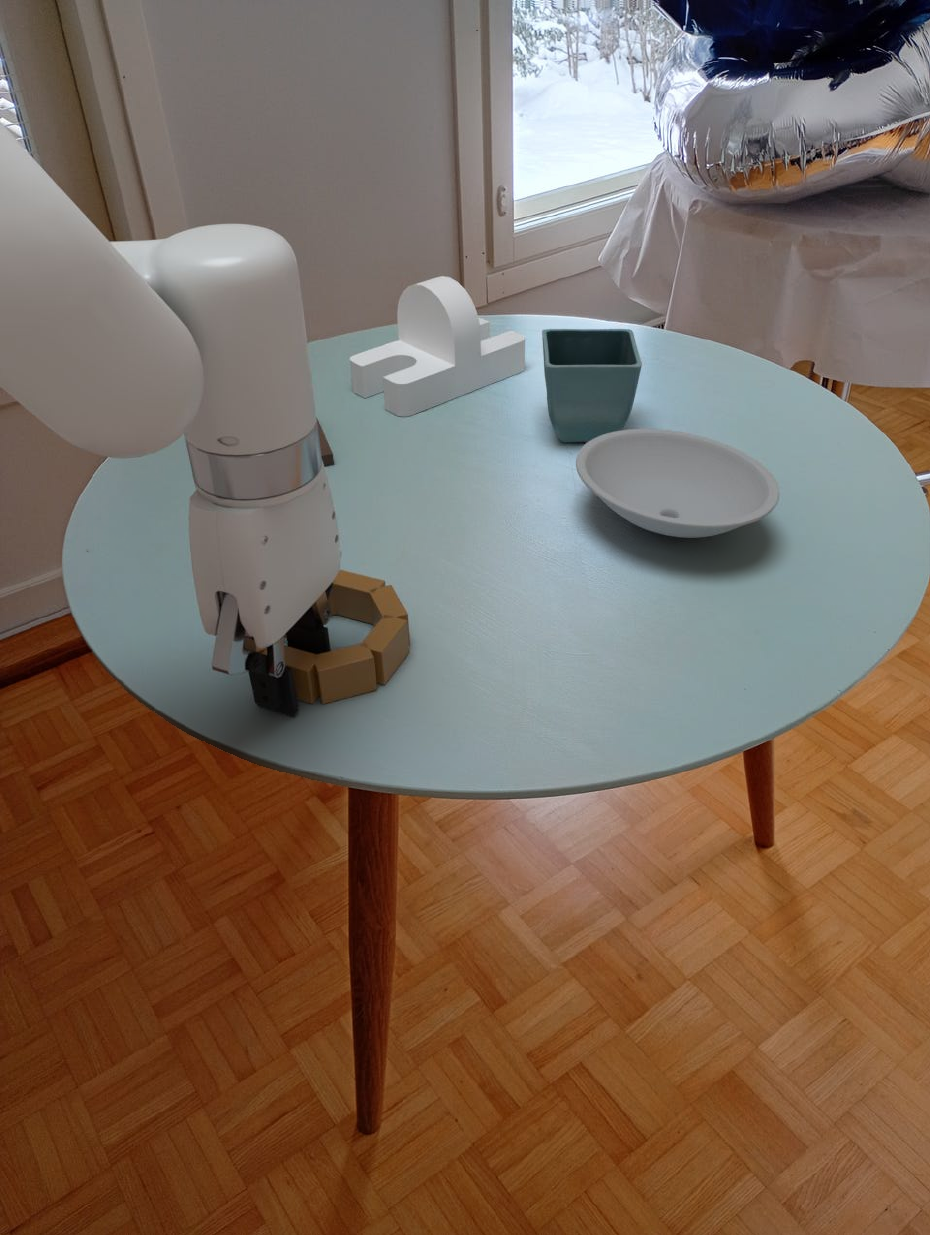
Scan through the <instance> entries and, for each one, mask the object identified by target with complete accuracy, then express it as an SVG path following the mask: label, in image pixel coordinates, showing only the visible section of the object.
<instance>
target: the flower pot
mask: <svg viewBox="0 0 930 1235" xmlns="http://www.w3.org/2000/svg"><path fill="white" fill-rule="evenodd" d="M541 336H542V338H541V340H542V352H543V353H542V354H543V370H544V380H545V387H546V388H545V389H546V401H547V411H548V416H549V420H550V423H551V426H552V429H553V431H554V432H555V435H556V436H557V438H558V439H559V440H560V442H563V443H587V442H589V441H590V440H592V439H594V438H596V437H598V436H601V435H604V434H607V433H611V432H615V431H621V430H623V428H624V427H625V425H626V424H627V421H628V419H629V418H630V415H631V412H632V410H633V406H634V402H635V398H636V393H637V389H638V385H639V380H640V375H641V371H642V366H643V363H642V359H641V356H640V353H639V348H638V346H637V342H636V338H635V334H634V331H633V330H632V329H630V328H546V329H542V330H541Z"/></svg>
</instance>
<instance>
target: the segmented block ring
mask: <svg viewBox="0 0 930 1235" xmlns="http://www.w3.org/2000/svg"><path fill="white" fill-rule="evenodd" d="M332 586H333V587H332V589H331V592H330V595H329V598H328V603H329V606H330V610H331V617H332V616H335V615H337V616H341V617H344V618H348V619H352V620H355V621H359V622H362V623H366V624H370V625H373V628H372V629H371V631H370V632H369V633H368V634H367V635H366V637H365V638H364V639H363V641H362V642H360V643H357V644H352V645H348V646H344V647H340V648H337V649H333V650H331V651H329V652H325V653H321V654H313V653H310V652H306V651H303V650H299V649H296V648H292V647H289V646H288V645H285V644H284V651H285V666H289V667H290V668H292V670H293V676H294V681H295V687H296V693H297V699H298V701H301V702H305V703H308V704H311V705H314V704H315V703H316V701H317V700H318V699H319V698H320V701H321V703H322V705H325V704H329V703H332V702H336V701H337V702H338V701H340V700H343V699H348V698H351V697H355V696H359V695H363V694H367V693H370V692H374V691H377V690H378V684H379V685H384V686H385V685H387V683H388V682H389V680H390V679H391V678H392V677H393V675H394V674H395V672H396V671H397V670H398V669H399V667H400V666H401V664H402V663H403V661H404V660H405V659H406V657H407V656H408V655H409V653H410V646H411V641H410V640H411V639H410V628H409V627H410V626H409V625H410V624H409V613H408V612H407V610H406V608H405V606H404V604H403V603H402V601H401V599H400V597H399V595H398V594H397V593H396V591H395V589H394V586H393V584H388V585H386V581H385V580H383V579H380V578H377V577H371V576H367V575H364V574H360V573H355V572H352V571H347V570H344V569H339V572H338V574H337V576H336V578H335V579H334V581H333V584H332ZM284 638H286V633H285V634H284ZM256 652H258V653H262V654H265V655H267V647H266V648H263V649H259V648H257V646H256Z"/></svg>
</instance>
